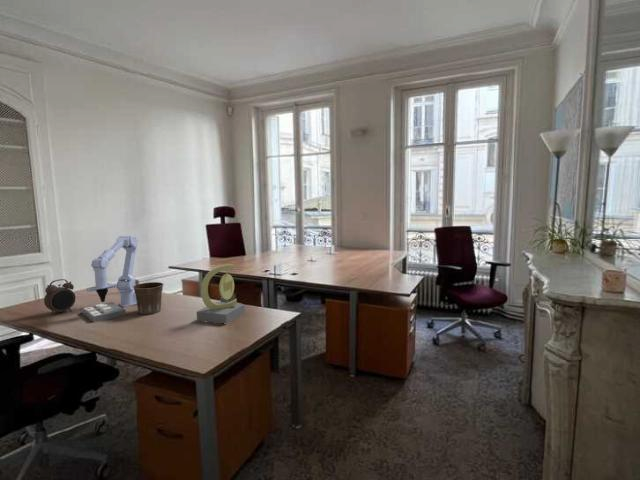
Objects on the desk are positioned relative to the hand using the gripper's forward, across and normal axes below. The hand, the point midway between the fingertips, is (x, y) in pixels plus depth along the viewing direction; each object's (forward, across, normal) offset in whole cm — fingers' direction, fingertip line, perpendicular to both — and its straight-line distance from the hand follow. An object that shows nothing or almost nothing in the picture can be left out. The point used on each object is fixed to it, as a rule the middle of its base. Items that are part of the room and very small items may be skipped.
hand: (102, 301), depth 201 cm
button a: (+7, 0, +7) cm, 10 cm away
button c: (+6, 0, -7) cm, 9 cm away
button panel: (+8, 0, 0) cm, 8 cm away
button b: (+6, 0, 0) cm, 6 cm away
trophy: (+8, +44, -57) cm, 72 cm away
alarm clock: (+8, -16, +22) cm, 28 cm away
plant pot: (+8, +20, -15) cm, 27 cm away
